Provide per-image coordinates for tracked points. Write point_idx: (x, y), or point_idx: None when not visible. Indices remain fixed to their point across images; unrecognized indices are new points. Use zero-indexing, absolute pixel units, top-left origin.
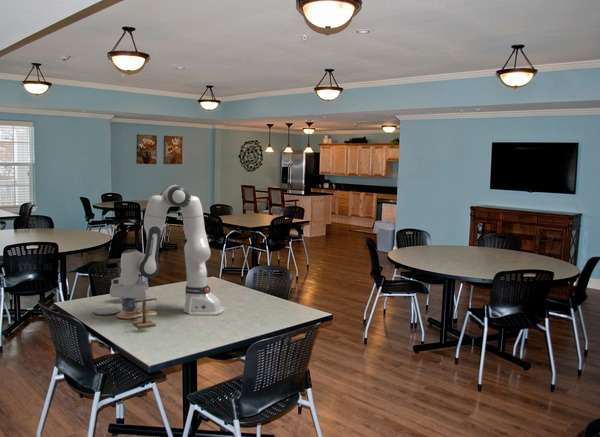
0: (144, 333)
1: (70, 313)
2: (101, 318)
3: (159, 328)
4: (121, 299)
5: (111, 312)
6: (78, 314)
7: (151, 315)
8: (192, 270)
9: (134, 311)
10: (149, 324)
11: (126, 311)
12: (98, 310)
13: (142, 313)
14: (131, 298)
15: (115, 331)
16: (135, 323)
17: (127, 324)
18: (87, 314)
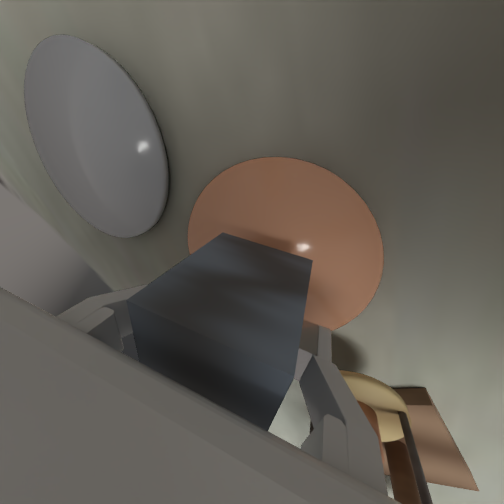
0: (391, 496)
1: (5, 184)
2: (150, 275)
3: (490, 498)
4: (119, 347)
5: (143, 214)
6: (37, 201)
7: None
8: None
9: (292, 184)
10: (430, 476)
11: (223, 185)
12: (59, 165)
13: (393, 420)
14: (217, 371)
15: (269, 431)
16: None
17: (296, 386)
18: (62, 202)
